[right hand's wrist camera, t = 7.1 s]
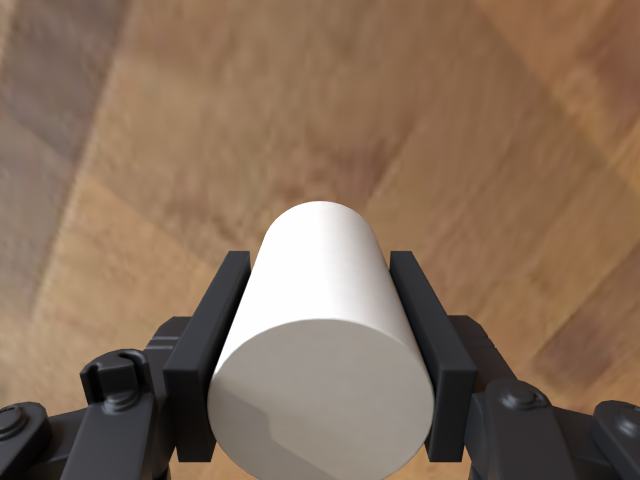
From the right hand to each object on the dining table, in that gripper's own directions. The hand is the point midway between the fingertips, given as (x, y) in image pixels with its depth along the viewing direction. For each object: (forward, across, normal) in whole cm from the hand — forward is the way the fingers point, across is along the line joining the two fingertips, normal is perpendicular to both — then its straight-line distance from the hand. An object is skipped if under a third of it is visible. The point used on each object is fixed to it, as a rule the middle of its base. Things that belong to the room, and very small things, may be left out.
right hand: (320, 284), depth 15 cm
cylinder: (+3, 0, 0) cm, 3 cm away
